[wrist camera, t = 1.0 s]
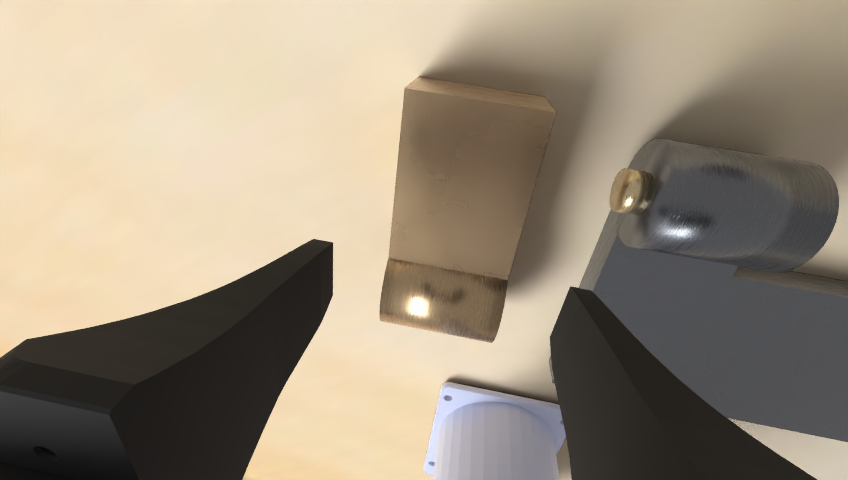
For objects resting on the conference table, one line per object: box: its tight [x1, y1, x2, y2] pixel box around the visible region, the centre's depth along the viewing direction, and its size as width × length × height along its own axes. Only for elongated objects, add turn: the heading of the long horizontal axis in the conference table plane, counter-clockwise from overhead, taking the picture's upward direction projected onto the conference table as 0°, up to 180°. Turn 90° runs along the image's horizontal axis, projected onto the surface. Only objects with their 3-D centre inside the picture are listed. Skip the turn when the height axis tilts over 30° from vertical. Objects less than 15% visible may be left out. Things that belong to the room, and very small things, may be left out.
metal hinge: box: [549, 138, 848, 442], centre depth 16 cm, size 13×19×4 cm
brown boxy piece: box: [380, 77, 556, 343], centre depth 16 cm, size 10×5×4 cm, turn 173°
